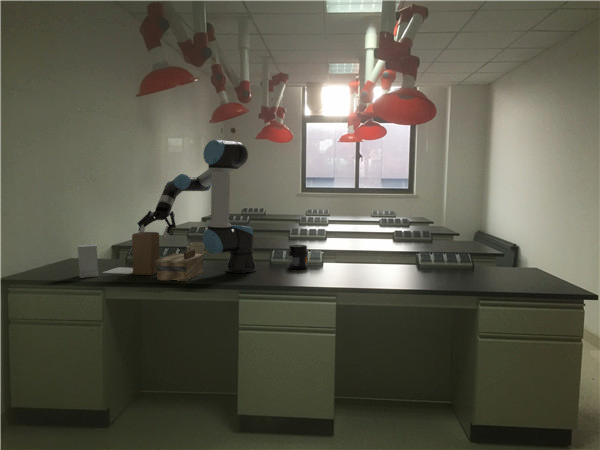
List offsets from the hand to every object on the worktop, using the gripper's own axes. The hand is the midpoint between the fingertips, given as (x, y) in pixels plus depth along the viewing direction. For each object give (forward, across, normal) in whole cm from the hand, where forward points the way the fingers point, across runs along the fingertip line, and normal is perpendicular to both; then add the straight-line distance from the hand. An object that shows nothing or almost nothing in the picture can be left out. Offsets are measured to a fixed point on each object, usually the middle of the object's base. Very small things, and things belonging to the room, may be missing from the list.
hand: (151, 237), depth 230 cm
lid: (+14, -20, +2) cm, 24 cm away
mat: (+16, +13, -8) cm, 22 cm away
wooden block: (+18, -1, -6) cm, 19 cm away
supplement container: (-4, -71, -28) cm, 76 cm away
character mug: (+4, -19, -21) cm, 28 cm away
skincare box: (+26, +22, +2) cm, 34 cm away
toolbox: (+20, -20, -4) cm, 28 cm away
